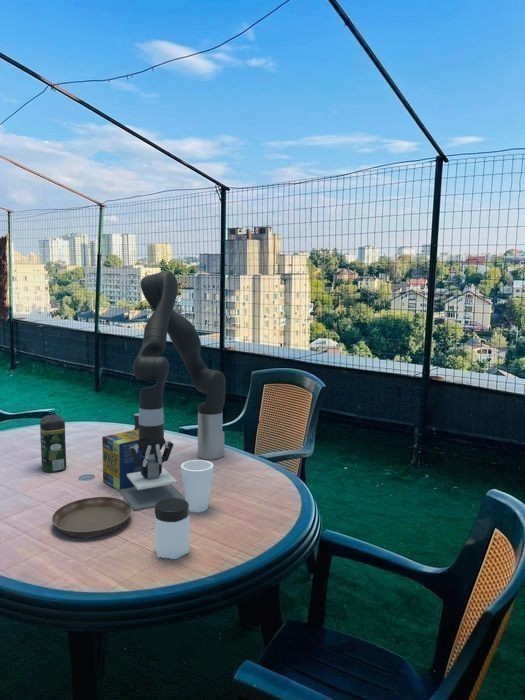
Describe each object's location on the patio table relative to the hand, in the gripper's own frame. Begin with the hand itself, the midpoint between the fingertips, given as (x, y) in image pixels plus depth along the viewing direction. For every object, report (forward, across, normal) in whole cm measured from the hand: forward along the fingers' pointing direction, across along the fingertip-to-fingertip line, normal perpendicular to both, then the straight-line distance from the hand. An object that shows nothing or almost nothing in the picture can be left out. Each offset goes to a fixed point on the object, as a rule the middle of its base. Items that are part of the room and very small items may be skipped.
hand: (151, 475), depth 162 cm
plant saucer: (+7, +20, +10) cm, 23 cm away
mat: (+6, 0, 0) cm, 6 cm away
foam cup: (+7, -9, +14) cm, 18 cm away
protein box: (+7, +2, -15) cm, 16 cm away
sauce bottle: (+7, -4, -24) cm, 25 cm away
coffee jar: (+7, +23, -38) cm, 45 cm away
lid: (+1, 0, 0) cm, 1 cm away
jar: (+7, +6, +34) cm, 35 cm away
